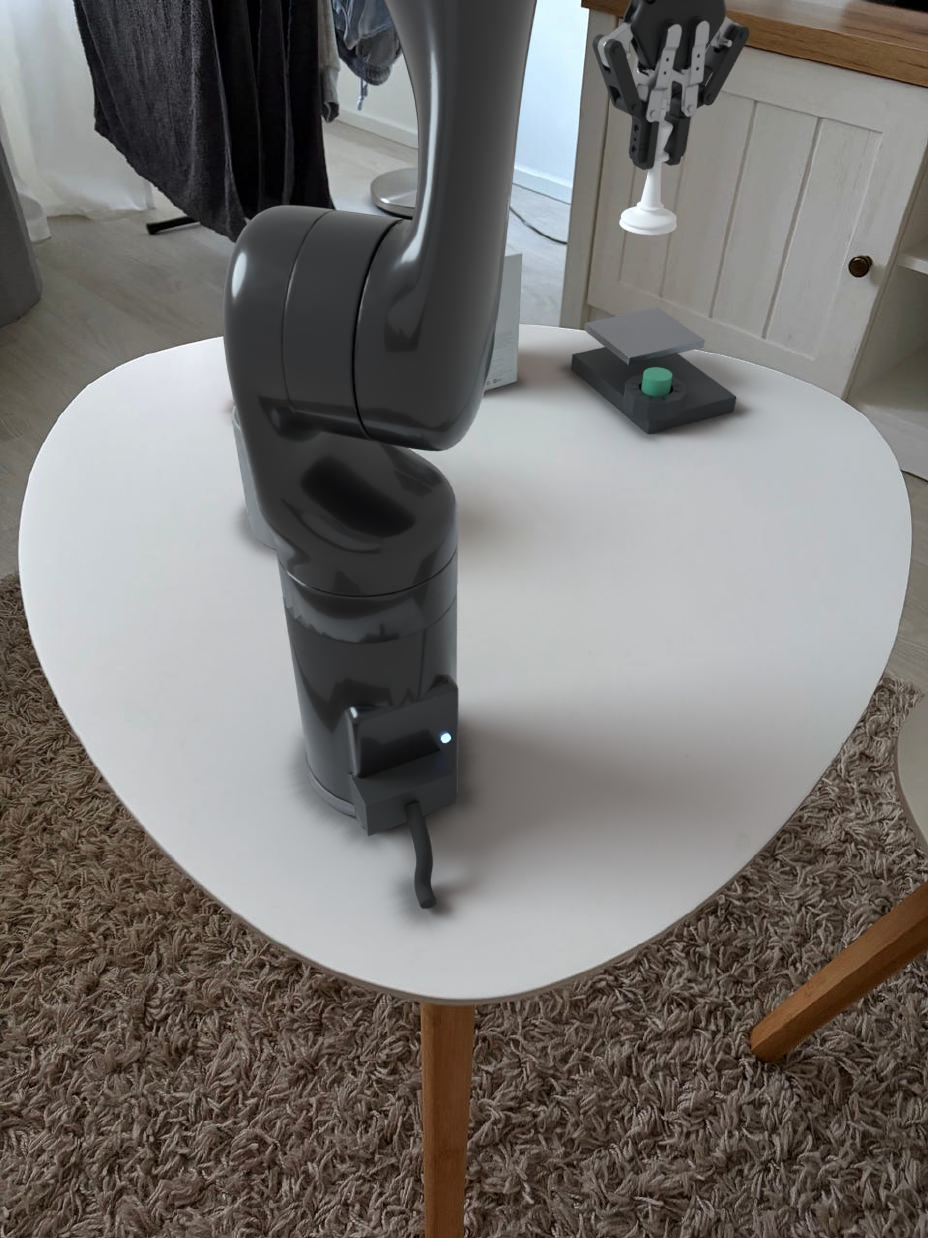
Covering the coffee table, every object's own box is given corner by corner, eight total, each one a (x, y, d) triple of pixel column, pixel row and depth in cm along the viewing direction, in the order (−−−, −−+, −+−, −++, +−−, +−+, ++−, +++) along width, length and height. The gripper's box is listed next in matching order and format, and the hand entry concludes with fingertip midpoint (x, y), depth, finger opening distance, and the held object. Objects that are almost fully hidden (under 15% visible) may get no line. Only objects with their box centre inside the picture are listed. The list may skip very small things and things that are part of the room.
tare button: (675, 394, 90) (678, 377, 89) (651, 400, 89) (654, 383, 88) (659, 382, 92) (661, 364, 90) (635, 387, 91) (638, 370, 90)
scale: (738, 416, 93) (746, 382, 91) (642, 441, 90) (647, 407, 87) (651, 350, 103) (656, 318, 101) (561, 371, 100) (564, 338, 97)
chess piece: (674, 215, 87) (692, 90, 80) (678, 236, 83) (697, 108, 77) (618, 213, 87) (631, 88, 81) (619, 234, 84) (633, 106, 77)
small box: (518, 383, 98) (524, 252, 89) (462, 398, 95) (463, 265, 87) (477, 349, 103) (479, 223, 94) (423, 363, 101) (420, 235, 92)
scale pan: (703, 347, 95) (705, 339, 94) (628, 365, 92) (629, 357, 91) (656, 314, 100) (657, 306, 99) (584, 330, 97) (584, 322, 97)
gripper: (636, -78, 66) (609, 191, 77) (799, -89, 70) (750, 166, 82) (578, -92, 71) (561, 162, 82) (734, -102, 75) (697, 141, 87)
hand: (656, 163), depth 82 cm, fingers closed on chess piece
